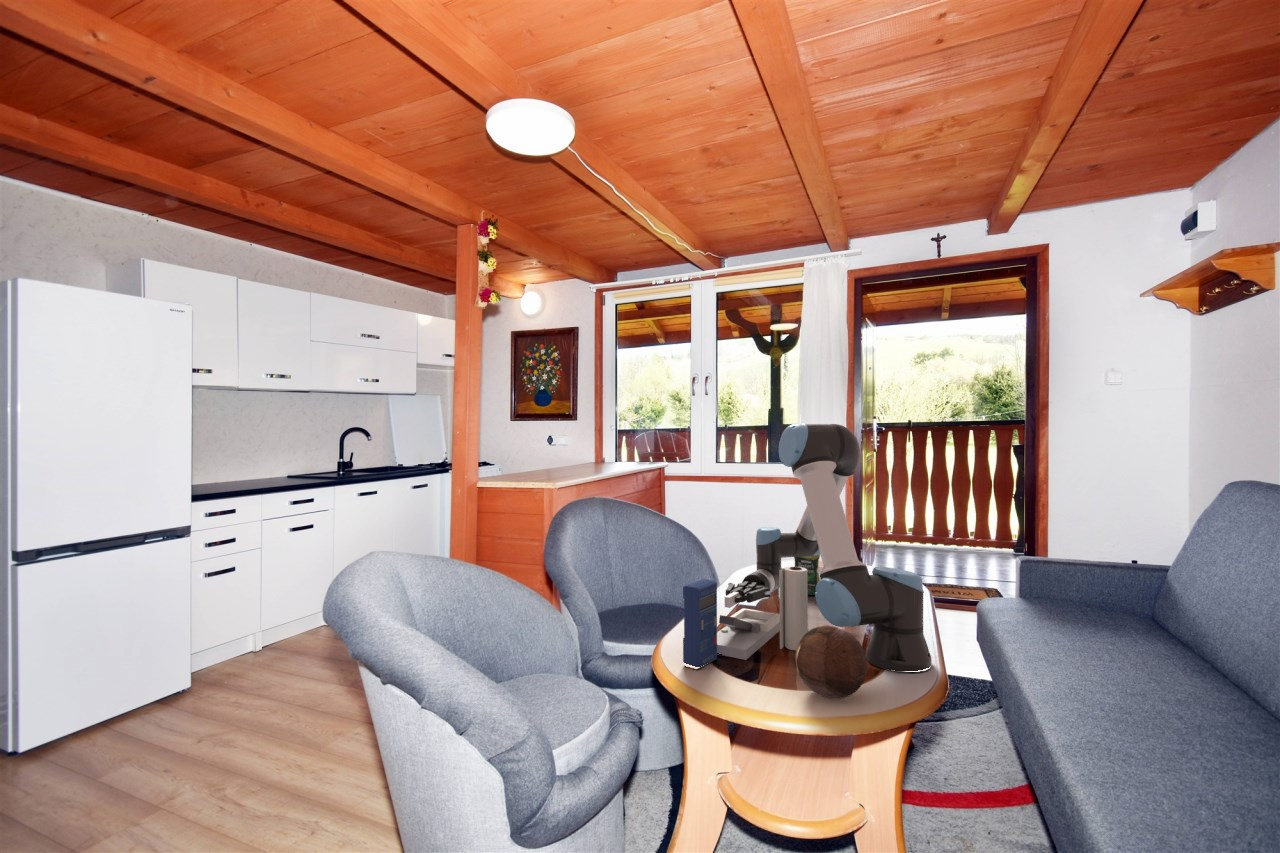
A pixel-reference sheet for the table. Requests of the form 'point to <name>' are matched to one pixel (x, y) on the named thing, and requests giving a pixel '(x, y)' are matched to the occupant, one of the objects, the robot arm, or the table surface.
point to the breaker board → (747, 633)
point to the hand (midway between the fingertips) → (727, 602)
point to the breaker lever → (735, 623)
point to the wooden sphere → (831, 661)
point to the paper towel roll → (793, 606)
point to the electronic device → (700, 622)
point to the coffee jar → (809, 571)
